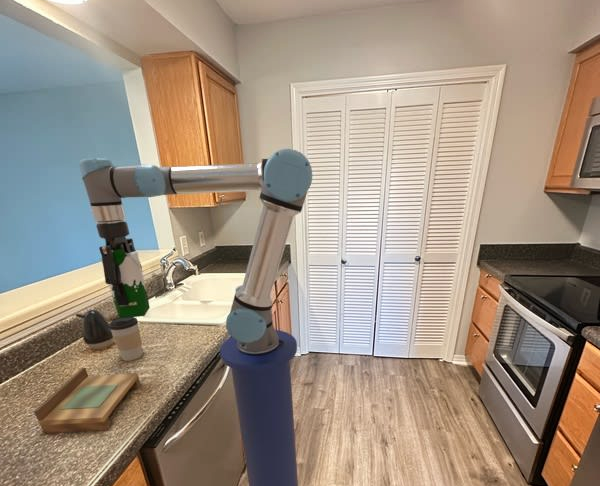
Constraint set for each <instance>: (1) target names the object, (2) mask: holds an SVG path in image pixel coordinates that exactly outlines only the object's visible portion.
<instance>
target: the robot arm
mask: <svg viewBox="0 0 600 486" xmlns="http://www.w3.org/2000/svg"><path fill="white" fill-rule="evenodd" d="M79 168H80V174H81V180H82V181H83V185H84V187H85V191H86V194H87V197H88V200H89V205H90V207H91V208H90V209H91V213H92V214H93V219H94V221H95V222H96V230H97V234H98V237H99V238H100V239H104V242H105V245H104V246H99V248H98V249H99V252H100V256H101V259H102V261H103V264H102V267H103V274H104V281H105V284H106V285H109V284H112V286H113V289H114V293H115V296H116V299H117V303H118V306H125V305H129V303H128V299H127V295H126V292H125V288H124V284H123V283H121V272H120V268H119V264H116V265H115V264H114V257H113V253H112V252H113V250H118V249H123V248H124V251H125V253H131V252H137V251H136V248H135V244H134V240H133V238H127V236H129V235H130V231H129V224H128V222H127V221H125V220H126V219H127V217H126V212H125V209H124V205H123V202H122V199H125V198H155V197H160V196H169V195H170V196H171V195H172V196H173V195H186V194H188V195H189V194H190V195H191V194H194V195H195V194H214V193H217V194H219V193H244V192H260V194H259V197H258V198H259V201H260V203H261V206H262V208H261V209H262V210H261V213H260V217H259V221H258V225H257V229H256V233H255V236H254V240H253V243H252V248H251V252H250V255H249V259H248V263H247V267H246V270H245V275H244V278H243V282H242V285H238V286H237V287H235V292H234V296H233V299H232V304H231V308H230V311H229V313H228V315H227V317H226V322H225V326H226V330H227V332H228V333H229V335H230V336H231V337H233V338H234V339H236V340H238V341H237V346H238V350H239V351H240V352H241V353H243V354H246V355H264V354H268V353H270V352H272V351H274V350H276V349H277V348H278V347H279V342H280V343H282V344H283V343H284V341H282V340H280V339H279V337H278V335H277V333H276V330H277V329H275V326H274V323H273V321H274V320H273V311H272V310H273V309H272V308H273V305H274V300H273V299H272V297H271V294H272V291H273V287H274V284H275V281H276V277H277V274H278V271H279V267H280V264H281V261H282V258H283V255H284V251H285V247H286V245H287V240H288V237H289V234H290V231H291V228H292V224H293V221H294V218H295V216H297V215H299V214H301V213H302V210H303V207H304V204H305V200H306V198H307V194H308V191H309V189H310V188H311V185H312V182H313V169H312V165H311V162H310V161H309V160H308V158H307V156H306V155H304V154H303V153H302V152H300V151H298V150H296V149H291V148H282V149H280V150H277V151H275V152H274V153H273V154H272V155H271V156H270V157H269V158H261V159H260V161H259V162H253V163H252V162H251V163H250V162H248V163H227V164H226V163H225V164H205V165H204V164H203V165H188V166H187V165H186V166H185V165H184V166H159V167H158V166H157V165H154V164H150V165H149V164H140V165H127V166H114V164H113V162H112V160H111V159H109V158H97V157H96V158H83V159H81V160H80V161H79ZM102 261H101V262H102ZM139 262H140V267H141V270H142V271H143V269H142V268H143V266H142V263H141V261H140V260H139Z"/></svg>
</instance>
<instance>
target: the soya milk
mask: <svg viewBox="0 0 600 486" xmlns="http://www.w3.org/2000/svg"><path fill="white" fill-rule="evenodd" d="M112 253H113V257H114V264H115V265H116V264H119V268H120V272H121V283H123V284H124V288H125V292H126V295H127V299H128V303H129V305H125V306H118V303H117V299H116V296H115V293H114V289H113V286H112V284H108V286H109V289H110V293H111V296H112V300H113V303H114V306H115V309H116V312H117V314H118V317H119V318H120V319H121V318H130V317H134V318H138V317H139V318H140V317H145V316H146V315H147V313H148V311H149V310H150V309H151V308H150V302H149V296H148V291H147V287H146V283H145V278H144V275H143V269H142V270H141V267H140V264H141V261H140V258H139V254H138V251H136V252H131V253H125V251H124V248H123V249H118V250H113V252H112ZM100 261H101V264H102V265H103V261H102V258H101V259H100ZM139 261H140V262H139Z"/></svg>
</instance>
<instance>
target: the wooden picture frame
mask: <svg viewBox="0 0 600 486" xmlns="http://www.w3.org/2000/svg"><path fill="white" fill-rule="evenodd" d="M140 386H141V381H140V377H139V374H138V373H120V374H101V375H99V374H98V375H89V373H88V371H87V368H86V367H81V368H80V369H78V371H77V372H76V373H74V374H73V375H72V376H71V377H69V379H68V380H66V382H64V383H63V384H62V385H61V386H60V387H59V388H58V389H56V390H55V392H53V393H52V394H51V395H50V396H48V397H47V399H45V400H44V401H43V402H42V403H41V404H40V405H39V406H38V407H36V409H34V410H33V413H34V415H35V417H36V419H37V421H38V424H39V426H40V428H41V430H42V432H43V434H52V433H53V434H54V433H55V434H56V433H71V432H72V433H75V432H90V431H91V432H93V431H107V430H108V429H109V428H110V426H111V421H110V418H109V416H110V415H111V414H112V412H113V411H114V410H115V409H116V408H117V406H118V404H119V403H120V402H121V401H122V400H123V398H124V397H125V396H126V395H127V393H128V392H129V390H130V389H138V388H139V387H140Z"/></svg>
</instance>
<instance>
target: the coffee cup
mask: <svg viewBox="0 0 600 486" xmlns="http://www.w3.org/2000/svg"><path fill="white" fill-rule="evenodd" d="M109 323H110V324H109V328H110V329H111V332H112V335H113V338H114V343H115V345H116V348H117V350H118V351H119V353H120V356H121V359H122V360H123V361H134V360H137V359H139V358H141V357H142V356H143V355H144V351H143V345H142V344H143V343H142V337H141V331H140V327H139V321H138V318H137V317H130V318H121V319H120V318H119V316H116V317H114V318H113V319H111V322H109Z"/></svg>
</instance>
